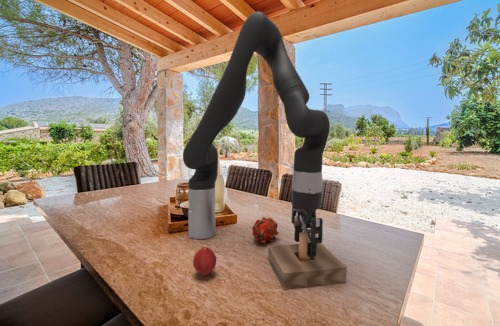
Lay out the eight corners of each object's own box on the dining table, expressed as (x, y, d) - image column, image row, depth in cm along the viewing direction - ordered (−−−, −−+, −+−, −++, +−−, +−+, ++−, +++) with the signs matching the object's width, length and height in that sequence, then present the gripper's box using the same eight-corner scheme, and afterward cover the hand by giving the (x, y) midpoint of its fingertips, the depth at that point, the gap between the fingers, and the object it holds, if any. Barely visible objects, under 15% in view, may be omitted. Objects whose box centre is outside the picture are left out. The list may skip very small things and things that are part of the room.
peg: (300, 273, 63) (302, 237, 62) (296, 267, 66) (297, 232, 65) (311, 272, 63) (313, 236, 62) (306, 266, 66) (308, 231, 65)
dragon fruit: (272, 237, 88) (261, 257, 78) (254, 222, 90) (241, 240, 79) (285, 222, 85) (276, 241, 74) (266, 207, 86) (255, 223, 75)
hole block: (283, 289, 56) (283, 273, 56) (268, 259, 70) (268, 246, 70) (345, 282, 59) (346, 267, 59) (319, 254, 73) (320, 242, 72)
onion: (195, 269, 65) (194, 240, 64) (216, 268, 65) (216, 239, 64) (191, 282, 59) (191, 250, 58) (215, 281, 59) (215, 250, 58)
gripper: (284, 183, 68) (282, 238, 70) (304, 195, 54) (301, 263, 56) (309, 182, 70) (306, 236, 72) (334, 194, 56) (331, 261, 58)
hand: (304, 248), depth 64 cm, fingers open, 8 cm apart
